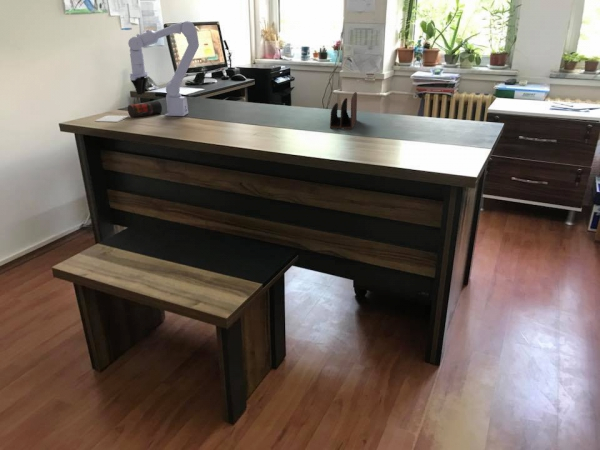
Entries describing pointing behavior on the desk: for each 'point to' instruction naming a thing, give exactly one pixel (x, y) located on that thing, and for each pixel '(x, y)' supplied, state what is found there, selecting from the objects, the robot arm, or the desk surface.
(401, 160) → the desk surface
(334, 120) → the letter holder
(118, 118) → the mat
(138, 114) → the deodorant
